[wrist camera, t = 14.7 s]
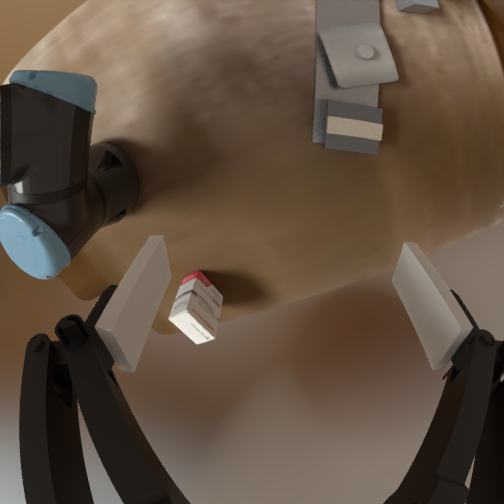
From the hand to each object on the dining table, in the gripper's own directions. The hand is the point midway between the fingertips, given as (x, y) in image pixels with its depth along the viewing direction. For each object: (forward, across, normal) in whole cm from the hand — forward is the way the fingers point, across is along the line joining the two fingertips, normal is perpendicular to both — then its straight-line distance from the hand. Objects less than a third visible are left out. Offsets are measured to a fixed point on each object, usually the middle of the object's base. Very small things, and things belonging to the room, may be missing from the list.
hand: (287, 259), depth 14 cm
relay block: (+32, +22, +30) cm, 49 cm away
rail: (+32, +11, +19) cm, 39 cm away
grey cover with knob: (+31, +10, +20) cm, 38 cm away
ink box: (+32, -13, -29) cm, 45 cm away
